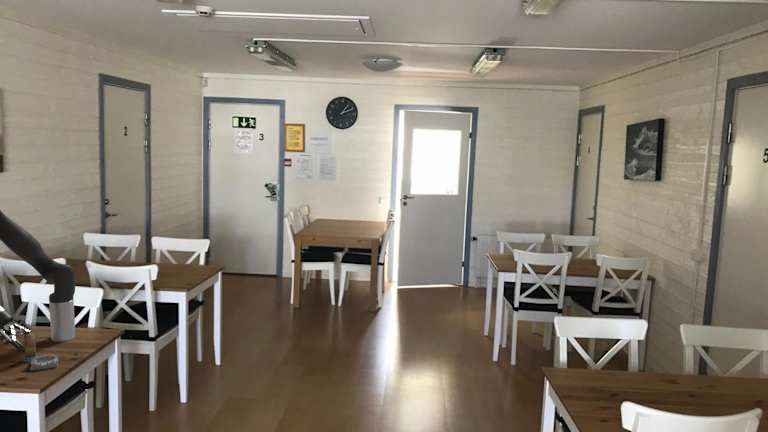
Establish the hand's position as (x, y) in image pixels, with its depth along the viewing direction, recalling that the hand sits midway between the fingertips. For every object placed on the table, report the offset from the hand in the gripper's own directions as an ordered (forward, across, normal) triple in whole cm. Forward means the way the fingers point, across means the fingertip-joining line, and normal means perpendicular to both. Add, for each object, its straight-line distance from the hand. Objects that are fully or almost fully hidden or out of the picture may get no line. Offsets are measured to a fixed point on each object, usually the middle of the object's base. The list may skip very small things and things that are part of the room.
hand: (28, 344), depth 223 cm
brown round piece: (+5, 0, +4) cm, 6 cm away
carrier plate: (+11, -5, -2) cm, 12 cm away
